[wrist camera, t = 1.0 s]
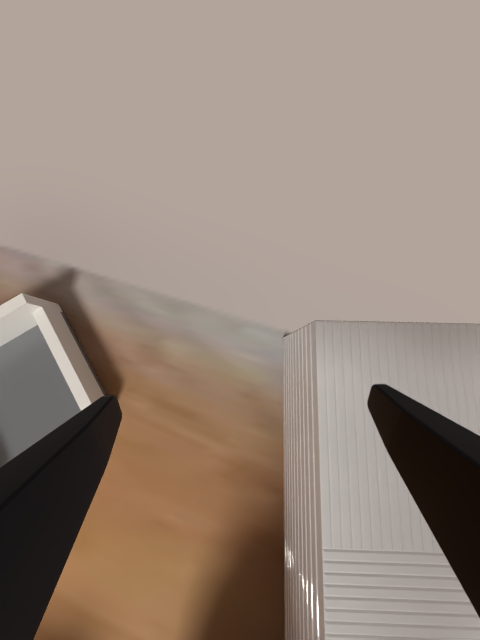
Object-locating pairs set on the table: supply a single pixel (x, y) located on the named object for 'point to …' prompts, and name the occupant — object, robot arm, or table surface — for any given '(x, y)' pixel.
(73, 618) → the table surface
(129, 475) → the table surface
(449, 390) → the ridged white long block
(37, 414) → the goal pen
